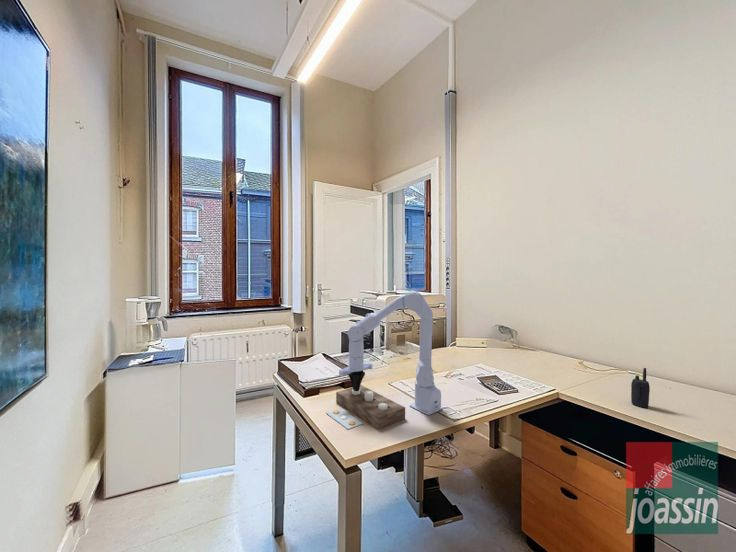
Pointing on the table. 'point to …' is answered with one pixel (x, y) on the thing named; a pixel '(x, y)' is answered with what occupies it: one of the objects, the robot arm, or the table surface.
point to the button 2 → (382, 406)
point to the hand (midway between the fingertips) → (356, 390)
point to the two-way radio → (640, 391)
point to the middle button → (368, 396)
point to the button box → (371, 407)
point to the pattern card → (344, 418)
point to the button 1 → (355, 392)
